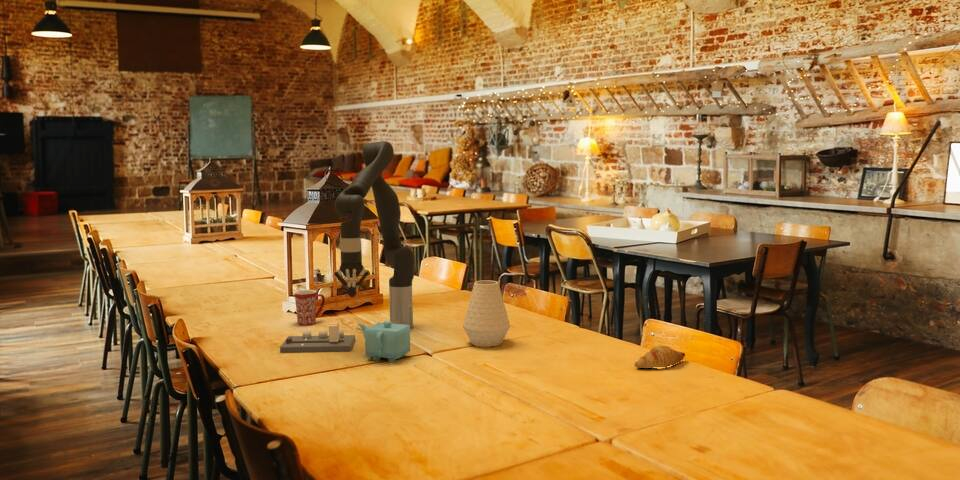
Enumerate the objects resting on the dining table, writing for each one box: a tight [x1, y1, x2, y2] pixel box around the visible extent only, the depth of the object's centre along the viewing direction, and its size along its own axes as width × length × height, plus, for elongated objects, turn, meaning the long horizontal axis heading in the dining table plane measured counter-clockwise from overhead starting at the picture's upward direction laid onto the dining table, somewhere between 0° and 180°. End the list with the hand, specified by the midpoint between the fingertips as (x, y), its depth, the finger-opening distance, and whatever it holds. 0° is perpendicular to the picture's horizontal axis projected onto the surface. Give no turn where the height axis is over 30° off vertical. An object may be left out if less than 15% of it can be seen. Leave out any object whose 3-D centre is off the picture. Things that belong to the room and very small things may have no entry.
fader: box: [328, 322, 340, 342], centre depth 293 cm, size 3×5×6 cm, turn 3°
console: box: [279, 329, 356, 354], centre depth 295 cm, size 25×16×4 cm, turn 93°
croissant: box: [634, 345, 686, 369], centre depth 267 cm, size 21×10×8 cm, turn 120°
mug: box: [293, 289, 326, 327], centre depth 331 cm, size 13×9×14 cm
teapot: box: [356, 320, 411, 363], centre depth 279 cm, size 18×16×13 cm
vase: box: [462, 279, 511, 348], centre depth 296 cm, size 17×17×23 cm
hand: (352, 296), depth 292 cm, fingers closed
